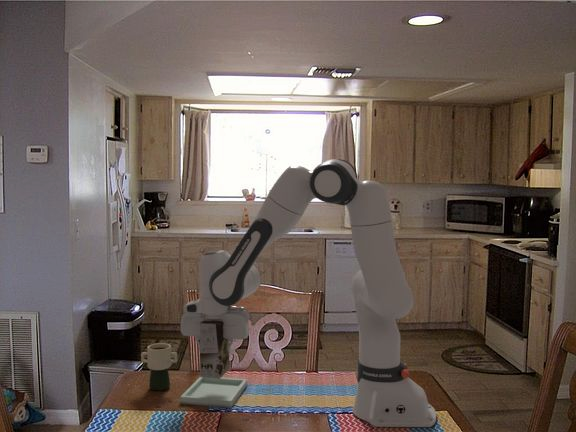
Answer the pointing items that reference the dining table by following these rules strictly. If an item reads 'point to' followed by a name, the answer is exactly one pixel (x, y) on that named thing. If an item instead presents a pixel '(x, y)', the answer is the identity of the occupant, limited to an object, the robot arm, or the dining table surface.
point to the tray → (214, 392)
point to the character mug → (159, 364)
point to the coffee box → (213, 350)
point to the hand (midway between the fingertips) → (215, 351)
